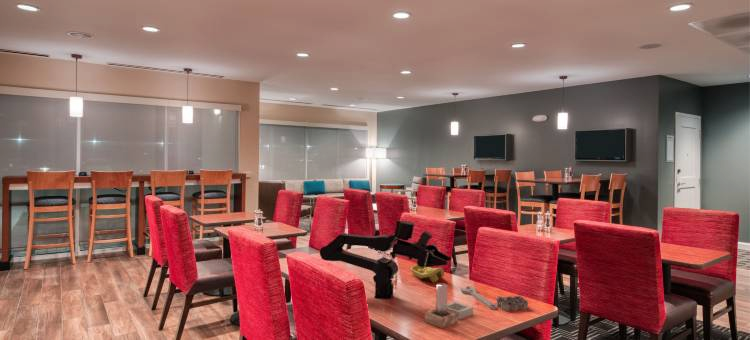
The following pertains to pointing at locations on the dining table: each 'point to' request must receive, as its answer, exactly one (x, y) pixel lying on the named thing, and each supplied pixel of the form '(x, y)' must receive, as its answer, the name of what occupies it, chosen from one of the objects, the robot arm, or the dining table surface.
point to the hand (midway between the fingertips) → (449, 261)
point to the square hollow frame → (460, 309)
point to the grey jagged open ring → (512, 303)
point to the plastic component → (427, 272)
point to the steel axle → (441, 299)
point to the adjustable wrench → (478, 297)
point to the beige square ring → (441, 318)
